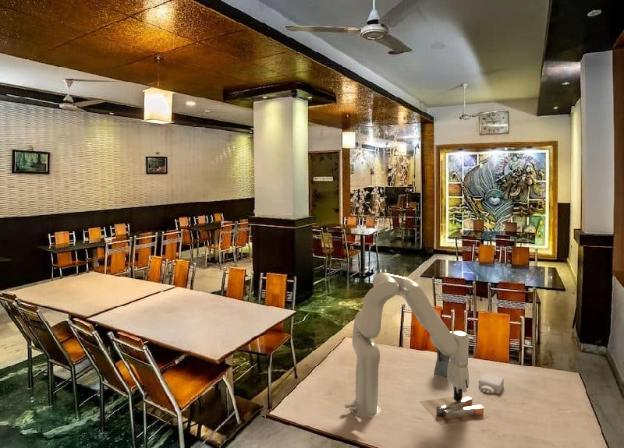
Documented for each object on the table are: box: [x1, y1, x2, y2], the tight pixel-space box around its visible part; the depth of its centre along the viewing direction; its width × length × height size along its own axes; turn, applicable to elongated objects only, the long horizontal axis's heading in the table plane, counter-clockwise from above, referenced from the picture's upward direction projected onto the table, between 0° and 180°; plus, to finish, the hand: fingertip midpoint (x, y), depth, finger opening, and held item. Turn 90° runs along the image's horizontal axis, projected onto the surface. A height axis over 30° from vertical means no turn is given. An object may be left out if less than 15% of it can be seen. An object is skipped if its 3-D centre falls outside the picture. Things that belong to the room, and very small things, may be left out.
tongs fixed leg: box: [444, 404, 485, 419], centre depth 172 cm, size 17×2×3 cm, turn 104°
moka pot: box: [433, 348, 450, 378], centre depth 211 cm, size 10×15×20 cm, turn 148°
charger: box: [478, 372, 505, 395], centre depth 196 cm, size 5×9×15 cm
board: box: [418, 395, 489, 425], centre depth 178 cm, size 22×18×1 cm
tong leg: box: [436, 395, 473, 417], centre depth 177 cm, size 19×3×3 cm, turn 117°
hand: (457, 399), depth 182 cm, fingers closed
